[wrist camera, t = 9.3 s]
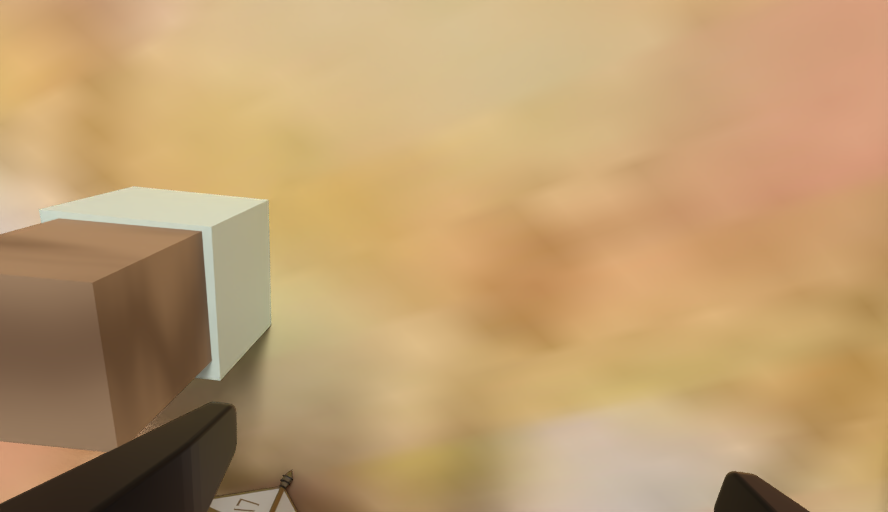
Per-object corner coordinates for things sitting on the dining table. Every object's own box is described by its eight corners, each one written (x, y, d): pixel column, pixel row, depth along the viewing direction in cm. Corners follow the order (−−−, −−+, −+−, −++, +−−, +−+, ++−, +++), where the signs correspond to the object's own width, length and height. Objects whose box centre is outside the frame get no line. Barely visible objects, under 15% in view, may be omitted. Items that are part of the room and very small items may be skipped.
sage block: (269, 199, 21) (211, 226, 16) (272, 323, 23) (220, 380, 18) (135, 185, 21) (38, 209, 16) (148, 310, 23) (65, 363, 18)
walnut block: (212, 360, 18) (118, 453, 13) (80, 348, 18) (-59, 435, 13) (202, 231, 16) (92, 282, 12) (58, 218, 17) (-108, 264, 12)
